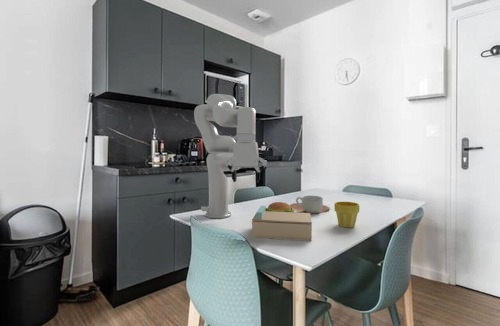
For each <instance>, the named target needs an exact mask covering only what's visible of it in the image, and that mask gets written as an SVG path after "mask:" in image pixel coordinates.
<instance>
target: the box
mask: <svg viewBox="0 0 500 326" xmlns="http://www.w3.org/2000/svg"><path fill="white" fill-rule="evenodd" d="M251 223H252V224H251V238H259V239H274V240H290V241H293V240H294V241H307V242H312V238H313V236H312V234H313V233H312V231H313V230H312V228H313V227H312V226H313V225H312V224H303V223H284V222H265V221H252V220H251Z"/></svg>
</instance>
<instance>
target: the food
mask: <svg viewBox="0 0 500 326" xmlns="http://www.w3.org/2000/svg"><path fill="white" fill-rule="evenodd" d="M266 211H274V212H295V210H294V209H293V208H292V207H291V205H290V204H288V202H282V201H277V202H276V201H275V202H272V203H270V204H269V205H268V206H267V207H266Z"/></svg>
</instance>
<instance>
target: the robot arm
mask: <svg viewBox="0 0 500 326" xmlns="http://www.w3.org/2000/svg"><path fill="white" fill-rule="evenodd" d="M236 107H237V101H236V99H235V97H234V96H232V95H230V94H222V93H212V94H210V95H209V96H208V97H207V99H206V103H205V104H204V103H203V104H199V105H196V107H194V111H193V116H194V117H193V119H194V122H195V125H196V127H197V129H198V130H199V133H200V134H201V138H202V141H203V144H204V148H205V151H207V153H209V154H208V155H207V157H206V166H207V174H208V175H207V176H208V205H207V206H201V207H200V210H201V211H202V212H205V217H207V218H208V219H209V218H210V219H226V218H229V217H231V216H232V212H231V211H229V180H228V178H227V176H226V174H225V173H224V172H231V180H232V182H233V183H236V182H237V174H238V173H237V171H238V170H240V169H241V168H254V169H255V170H256V172H255V183H259V182H260V181H261V172H262V171H263V170H264V169H265V167H266V165H267V164H268V161H267V160H265V159H264V158H262V157H260V156H259V146H258V142H257V141H256V123H257V122H256V120H257V119H256V114H257V112H256V109H255V108H254V107H251V106H250V107H249V106H242V107H239V108H236ZM211 122H215V123H216V124H218V126H221V127H222V128H223V127H224V128H236V135H234V136H233V135H232V136H230V135H221V134H219V132H218V129H217V127H216V126H215V125H214V124H213V123H211ZM260 162H261V163H262V164H261V166H260V167H259V164H260Z"/></svg>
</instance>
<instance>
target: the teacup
mask: <svg viewBox="0 0 500 326" xmlns="http://www.w3.org/2000/svg"><path fill="white" fill-rule="evenodd" d="M299 200H301V203H300V202H299ZM323 200H324V198H323V197H322V196H319V195H303V196H302V197H301V196H298V197H296V199H295V202H296V204H297V205H298V206H299V207H301V208H302V209H303V211H305V213H310V214H318V213H320V212H321V211H322V210H323V205H324V204H323V202H324V201H323Z"/></svg>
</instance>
